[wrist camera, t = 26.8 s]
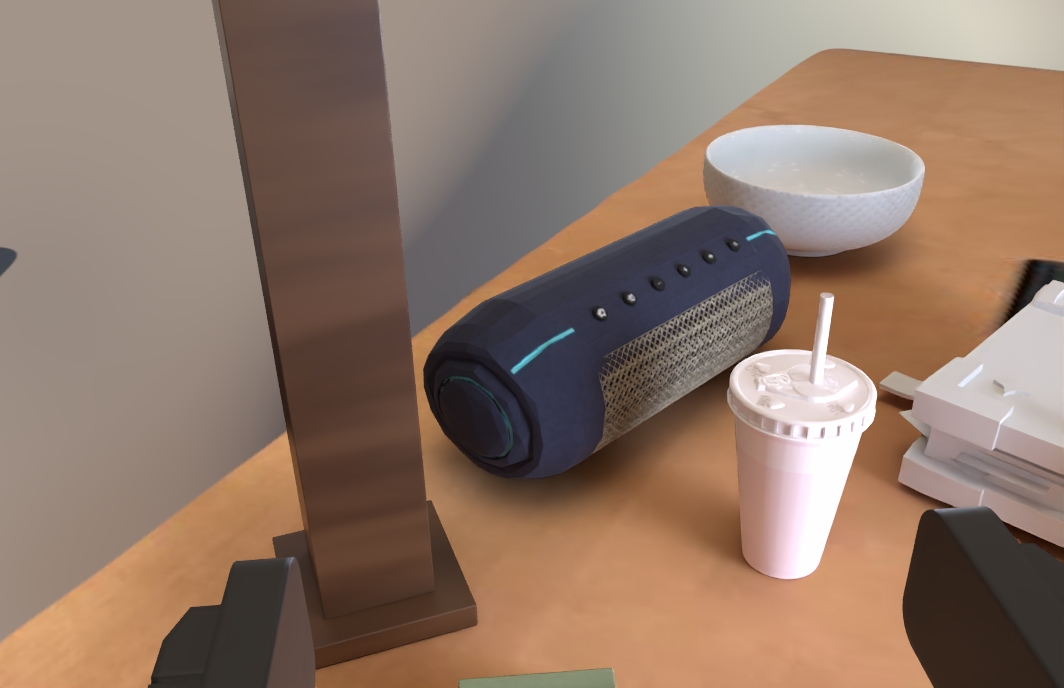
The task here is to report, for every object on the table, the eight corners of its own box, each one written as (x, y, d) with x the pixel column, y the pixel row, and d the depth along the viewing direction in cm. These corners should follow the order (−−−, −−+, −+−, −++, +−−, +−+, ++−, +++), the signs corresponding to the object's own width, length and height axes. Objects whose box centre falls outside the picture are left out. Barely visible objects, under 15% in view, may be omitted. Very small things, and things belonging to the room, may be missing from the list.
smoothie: (864, 599, 46) (915, 331, 39) (723, 600, 46) (749, 333, 39) (831, 510, 51) (870, 262, 44) (705, 510, 51) (724, 264, 44)
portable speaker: (537, 539, 50) (533, 368, 45) (411, 458, 56) (395, 299, 51) (809, 354, 65) (828, 211, 60) (686, 307, 71) (694, 173, 66)
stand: (491, 656, 43) (443, -136, 28) (305, 709, 41) (142, -120, 26) (432, 518, 51) (371, -153, 36) (275, 555, 49) (138, -142, 34)
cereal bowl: (859, 304, 71) (873, 211, 67) (660, 248, 80) (663, 163, 77) (942, 228, 82) (958, 145, 79) (759, 186, 91) (766, 111, 88)
